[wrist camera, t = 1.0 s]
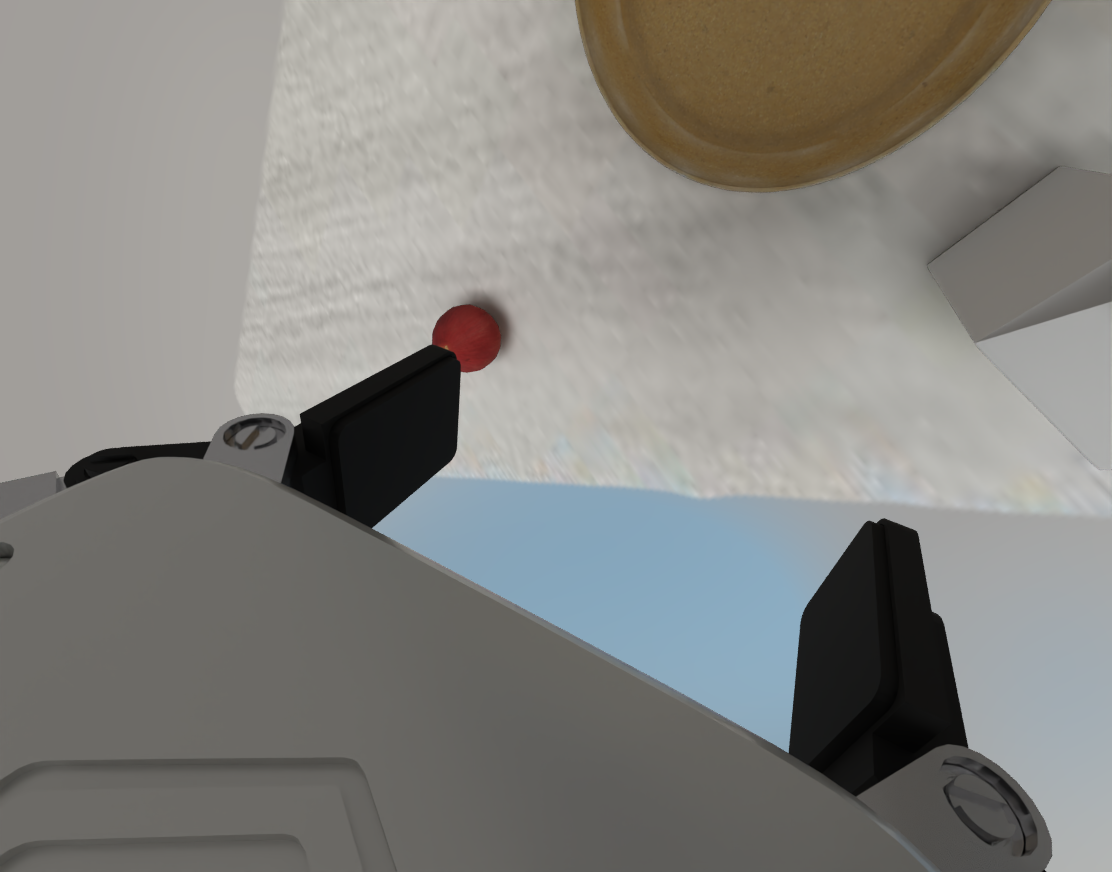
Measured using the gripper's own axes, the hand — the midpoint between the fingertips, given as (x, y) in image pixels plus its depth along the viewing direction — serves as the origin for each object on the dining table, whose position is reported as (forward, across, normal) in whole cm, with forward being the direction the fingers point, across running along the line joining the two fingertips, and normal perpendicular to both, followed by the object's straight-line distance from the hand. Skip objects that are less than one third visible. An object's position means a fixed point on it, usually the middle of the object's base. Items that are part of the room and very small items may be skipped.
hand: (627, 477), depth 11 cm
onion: (+30, +21, +13) cm, 39 cm away
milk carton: (+30, -14, -2) cm, 33 cm away
